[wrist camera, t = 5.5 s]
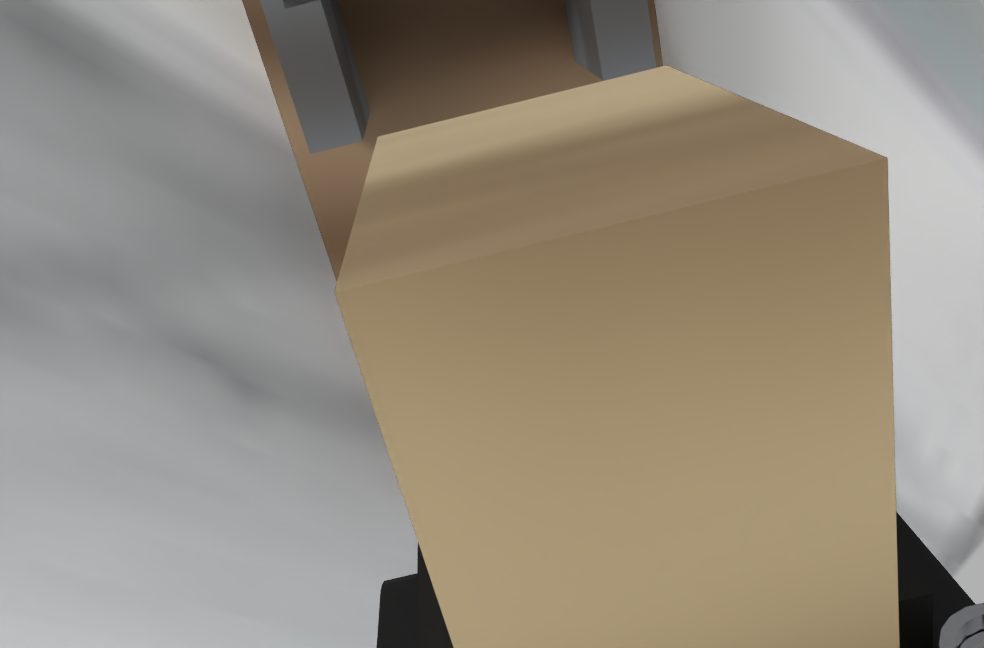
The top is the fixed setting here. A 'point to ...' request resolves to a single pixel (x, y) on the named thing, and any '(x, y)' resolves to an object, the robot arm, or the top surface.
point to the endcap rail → (425, 73)
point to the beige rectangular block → (635, 369)
